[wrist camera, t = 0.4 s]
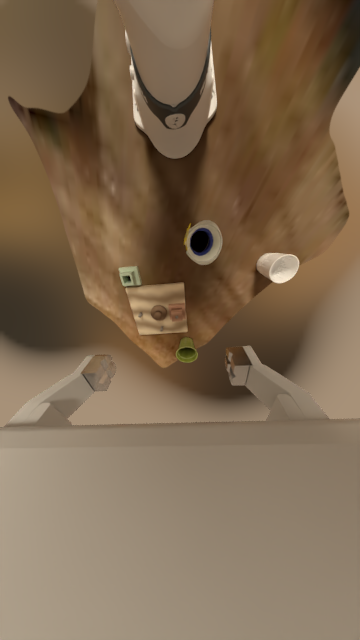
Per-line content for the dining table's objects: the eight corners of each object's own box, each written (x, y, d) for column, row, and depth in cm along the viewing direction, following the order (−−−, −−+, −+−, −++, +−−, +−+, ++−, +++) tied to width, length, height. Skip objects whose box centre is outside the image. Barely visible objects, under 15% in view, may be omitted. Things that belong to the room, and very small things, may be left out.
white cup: (282, 263, 48) (303, 269, 40) (261, 279, 52) (277, 288, 43) (271, 245, 46) (291, 247, 37) (249, 263, 49) (264, 270, 40)
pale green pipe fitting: (120, 267, 50) (114, 270, 46) (137, 265, 50) (133, 268, 46) (125, 285, 54) (120, 289, 49) (142, 283, 53) (138, 287, 49)
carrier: (126, 287, 54) (119, 293, 48) (183, 282, 52) (183, 288, 47) (140, 333, 65) (136, 342, 59) (187, 330, 64) (188, 339, 58)
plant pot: (181, 351, 71) (181, 364, 63) (173, 337, 66) (172, 350, 59) (198, 346, 69) (200, 359, 61) (192, 331, 64) (193, 344, 57)
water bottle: (183, 256, 48) (184, 273, 26) (182, 225, 43) (182, 217, 22) (207, 255, 48) (228, 271, 26) (209, 224, 43) (235, 214, 22)
